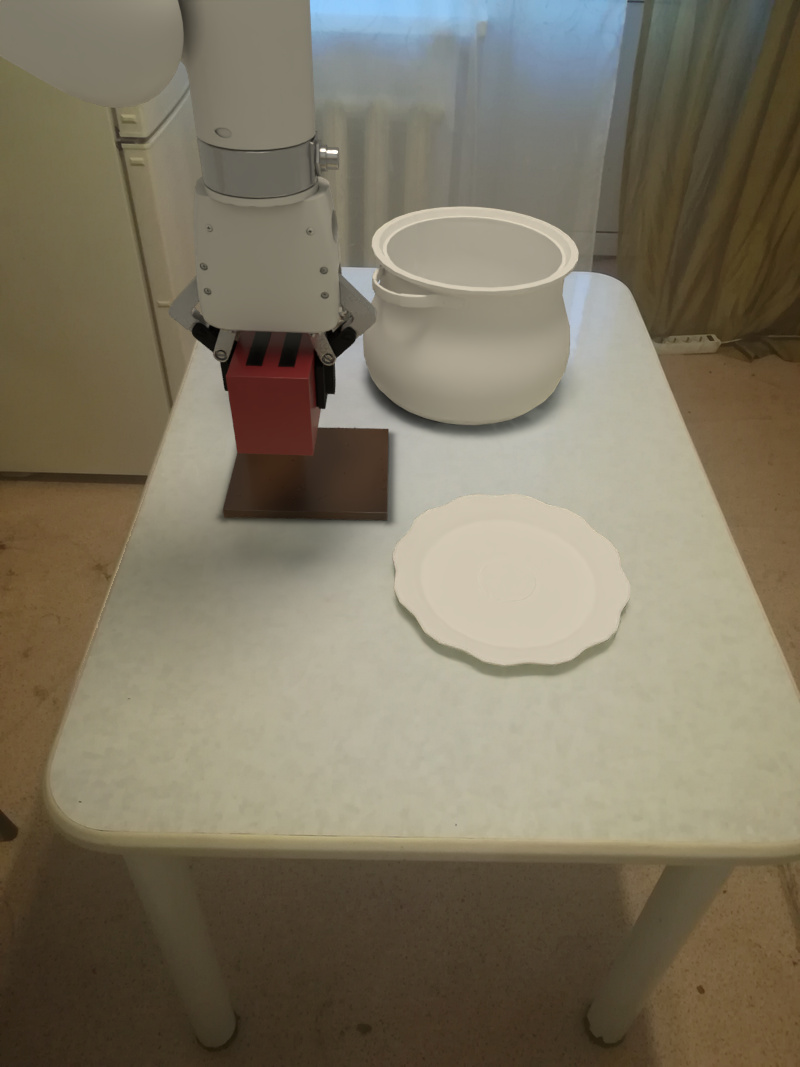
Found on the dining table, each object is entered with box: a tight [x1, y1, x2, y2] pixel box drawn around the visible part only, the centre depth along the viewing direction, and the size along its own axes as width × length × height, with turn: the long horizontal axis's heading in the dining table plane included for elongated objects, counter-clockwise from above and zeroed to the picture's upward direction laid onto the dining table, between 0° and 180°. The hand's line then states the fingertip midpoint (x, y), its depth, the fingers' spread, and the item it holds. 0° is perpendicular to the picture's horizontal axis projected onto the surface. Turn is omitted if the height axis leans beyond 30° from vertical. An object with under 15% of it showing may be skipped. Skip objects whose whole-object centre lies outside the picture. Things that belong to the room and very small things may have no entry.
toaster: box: [226, 331, 322, 456], centre depth 61 cm, size 6×11×7 cm, turn 179°
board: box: [222, 426, 390, 521], centre depth 78 cm, size 16×14×1 cm
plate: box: [391, 493, 631, 667], centre depth 68 cm, size 21×21×2 cm
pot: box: [362, 206, 580, 426], centre depth 87 cm, size 26×24×17 cm
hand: (281, 396), depth 61 cm, fingers closed on toaster, 6 cm apart
